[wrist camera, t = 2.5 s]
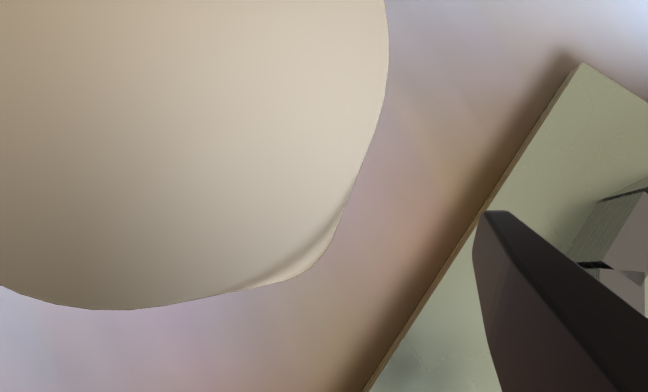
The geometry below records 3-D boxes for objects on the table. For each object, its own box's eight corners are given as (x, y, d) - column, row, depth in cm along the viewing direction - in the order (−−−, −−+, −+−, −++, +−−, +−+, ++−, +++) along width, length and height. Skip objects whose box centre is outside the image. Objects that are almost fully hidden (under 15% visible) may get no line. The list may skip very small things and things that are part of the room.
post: (282, 314, 17) (181, 426, 5) (160, 227, 18) (-249, 107, 5) (367, 190, 18) (487, -15, 5) (247, 108, 18) (85, -271, 6)
